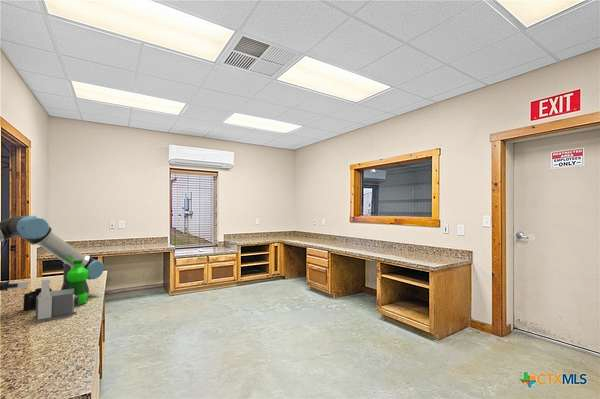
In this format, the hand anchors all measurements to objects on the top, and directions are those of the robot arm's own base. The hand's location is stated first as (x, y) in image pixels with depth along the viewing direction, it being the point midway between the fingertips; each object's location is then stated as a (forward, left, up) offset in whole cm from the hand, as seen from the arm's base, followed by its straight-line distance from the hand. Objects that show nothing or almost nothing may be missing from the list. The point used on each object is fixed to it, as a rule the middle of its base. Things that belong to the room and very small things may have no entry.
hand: (27, 284), depth 144 cm
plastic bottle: (-23, +18, -19) cm, 35 cm away
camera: (-27, +2, -19) cm, 32 cm away
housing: (-6, +11, -18) cm, 22 cm away
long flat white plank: (0, +7, -17) cm, 18 cm away
